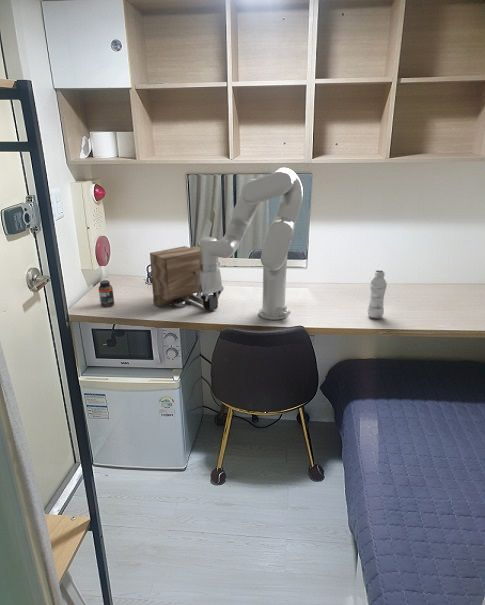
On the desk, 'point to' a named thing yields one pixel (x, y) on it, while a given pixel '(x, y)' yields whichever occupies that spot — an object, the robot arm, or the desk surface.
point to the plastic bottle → (377, 295)
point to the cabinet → (174, 274)
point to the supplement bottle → (106, 294)
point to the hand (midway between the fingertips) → (210, 307)
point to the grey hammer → (211, 299)
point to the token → (179, 303)
